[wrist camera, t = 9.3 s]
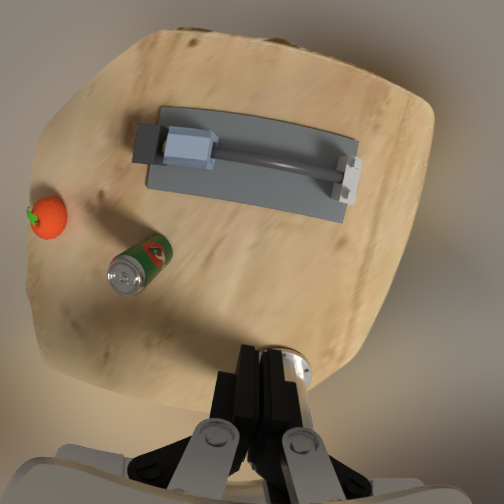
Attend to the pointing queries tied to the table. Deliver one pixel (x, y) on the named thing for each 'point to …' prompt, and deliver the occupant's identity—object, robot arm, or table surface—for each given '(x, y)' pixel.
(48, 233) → the clementine
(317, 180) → the linear slide rail
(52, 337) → the table surface
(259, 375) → the robot arm
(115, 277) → the soda can
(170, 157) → the sleeve
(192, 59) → the table surface
